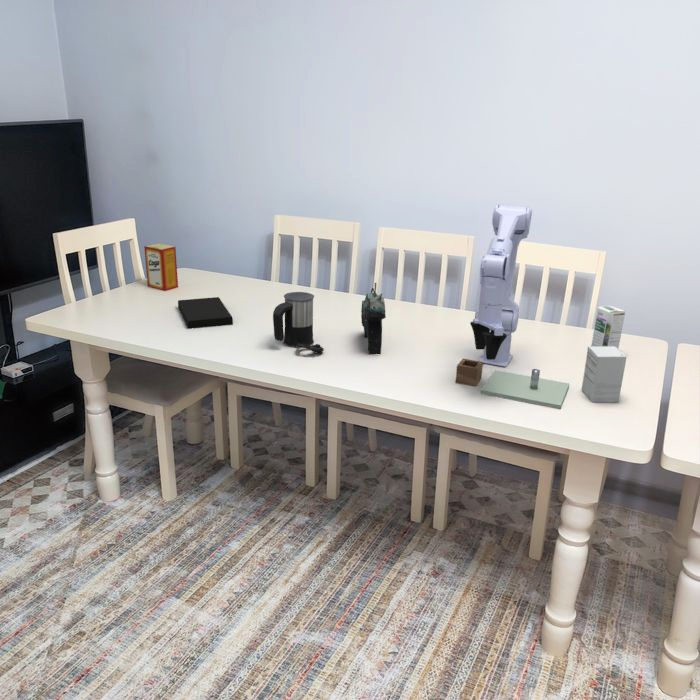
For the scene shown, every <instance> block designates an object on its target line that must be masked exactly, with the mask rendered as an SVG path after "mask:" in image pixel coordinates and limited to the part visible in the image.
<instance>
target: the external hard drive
mask: <svg viewBox="0 0 700 700" xmlns="http://www.w3.org/2000/svg"><path fill="white" fill-rule="evenodd" d="M177 305H178V308H177V309H178V310H179V312H180V315H181V316H182V318H183V320H184V323H185V325H186V327H187V329H188V330H191V329H192V328H193V329H202V328H212V327H213V328H215V327H221V326H222V327H223V326H232V325H234V321H233V320H234V318H233V316H232V314H231V313H230V311H229V310H228V309H227V307H226V306H225V304H224V302H223V301H222V299H221V298H220V297H219V296H217V297H215V296H214V297H203V298H192V299H191V298H190V299H179V300H177ZM193 329H192V330H193Z"/></svg>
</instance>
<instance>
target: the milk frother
mask: <svg viewBox="0 0 700 700" xmlns="http://www.w3.org/2000/svg"><path fill="white" fill-rule="evenodd" d="M283 298H284V302H282V303H279V304H278V305H277V306H275V308H274V310H273V311H272V312H273V313H272V321H273V322H272V324H273V335H274V340H276V341H278V342H283V343H284V345H286V346H288V347H292V346H293V348H302V349H308V350H309V351H311V352H313V353H315V352H317V353H316V354H319V353H320V352H324V351H325V348H324V347H323V346H321V344H318V343H316V344H314V342H315V341H314V328H313V327H314V298H315V295H314V294H312V293H310V292H306V291H293V292H292V291H291V292H288V293H285V294H283Z"/></svg>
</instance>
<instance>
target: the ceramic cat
mask: <svg viewBox="0 0 700 700" xmlns="http://www.w3.org/2000/svg"><path fill="white" fill-rule="evenodd" d="M376 290H377V282H375V283H374V288H373V287H372V288H371V290H370V292H367V293H366V295H365V299H364V300H363V299H362V301H361V311H360V313H361V314H360V316H361V317H360V319H361V326H362V327H363V335H364V338H366V339H367V351H368V354H369V355H370V354H380V355H381V353H382V341H383V320H384V319H386V317H387V315H386V304H385V302H386V301H385V299H384V297H383V293H380V294H379V295H378V293H377V291H376Z"/></svg>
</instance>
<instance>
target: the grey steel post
mask: <svg viewBox="0 0 700 700" xmlns="http://www.w3.org/2000/svg"><path fill="white" fill-rule="evenodd" d="M540 374H541V369H537V368H533V369H531V374H530V376H531V382H530V389H533V390H537V389H538V382H539V378H540Z"/></svg>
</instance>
